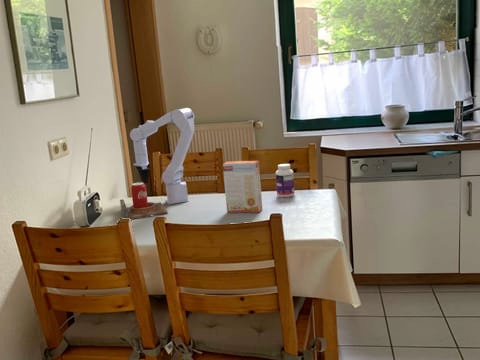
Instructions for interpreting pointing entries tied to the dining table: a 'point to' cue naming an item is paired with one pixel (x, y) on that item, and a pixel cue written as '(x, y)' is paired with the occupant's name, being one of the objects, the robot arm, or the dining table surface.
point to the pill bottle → (284, 181)
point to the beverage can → (139, 195)
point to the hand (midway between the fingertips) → (144, 181)
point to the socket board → (142, 210)
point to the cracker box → (242, 186)
